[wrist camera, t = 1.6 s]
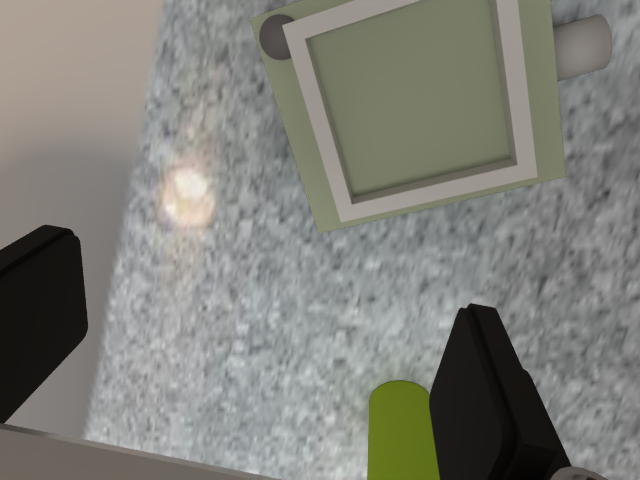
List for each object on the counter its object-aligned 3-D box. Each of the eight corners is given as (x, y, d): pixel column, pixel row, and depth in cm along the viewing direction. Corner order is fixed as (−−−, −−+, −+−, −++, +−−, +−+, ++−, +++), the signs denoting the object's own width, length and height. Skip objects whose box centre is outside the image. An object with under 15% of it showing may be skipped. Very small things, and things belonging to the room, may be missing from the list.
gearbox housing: (575, -89, 25) (623, -119, 20) (590, 149, 30) (632, 171, 25) (265, 20, 30) (242, 17, 25) (325, 212, 35) (315, 242, 30)
